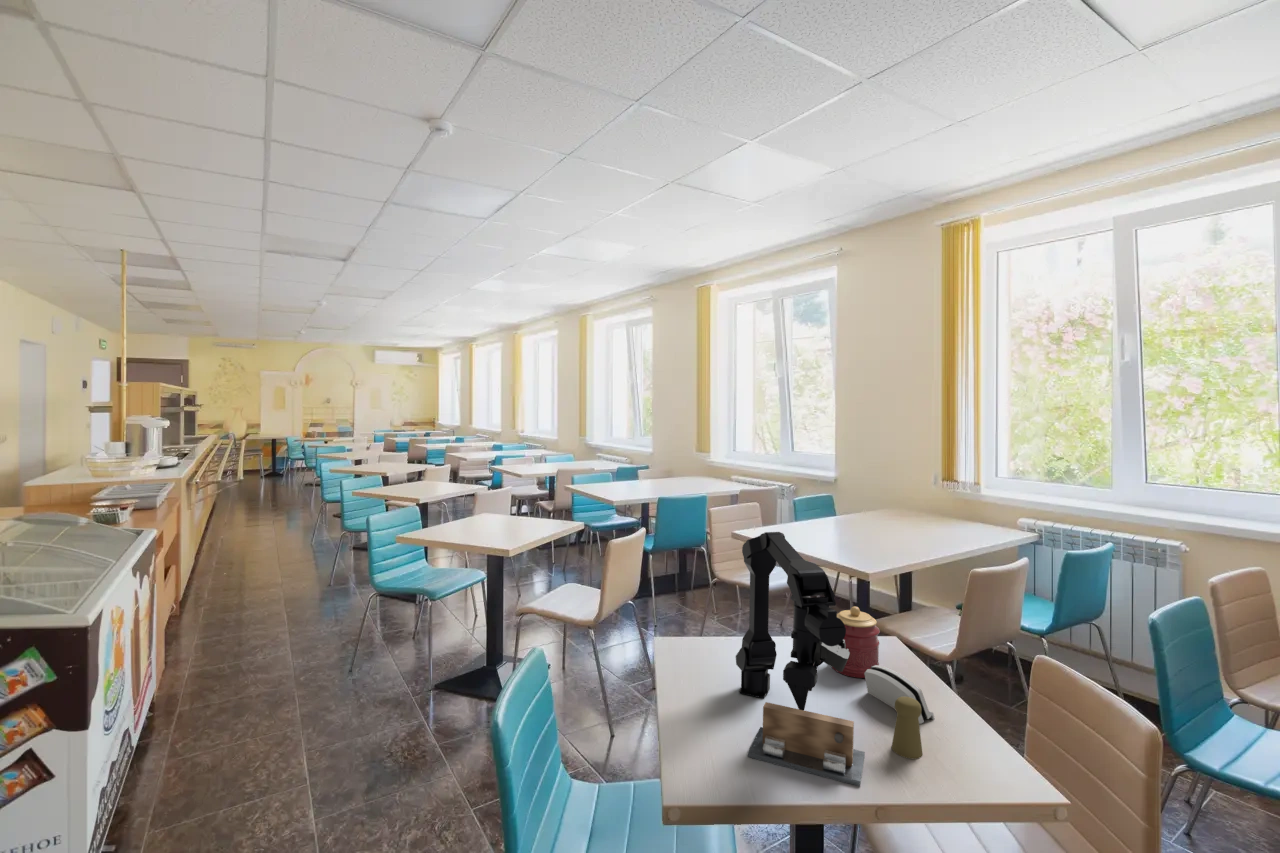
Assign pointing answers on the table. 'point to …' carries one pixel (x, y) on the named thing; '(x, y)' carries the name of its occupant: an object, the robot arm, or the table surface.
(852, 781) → the plate
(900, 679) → the white curved block
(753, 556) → the robot arm
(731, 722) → the table surface
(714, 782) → the table surface
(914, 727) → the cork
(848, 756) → the cabinet door
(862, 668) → the canister
